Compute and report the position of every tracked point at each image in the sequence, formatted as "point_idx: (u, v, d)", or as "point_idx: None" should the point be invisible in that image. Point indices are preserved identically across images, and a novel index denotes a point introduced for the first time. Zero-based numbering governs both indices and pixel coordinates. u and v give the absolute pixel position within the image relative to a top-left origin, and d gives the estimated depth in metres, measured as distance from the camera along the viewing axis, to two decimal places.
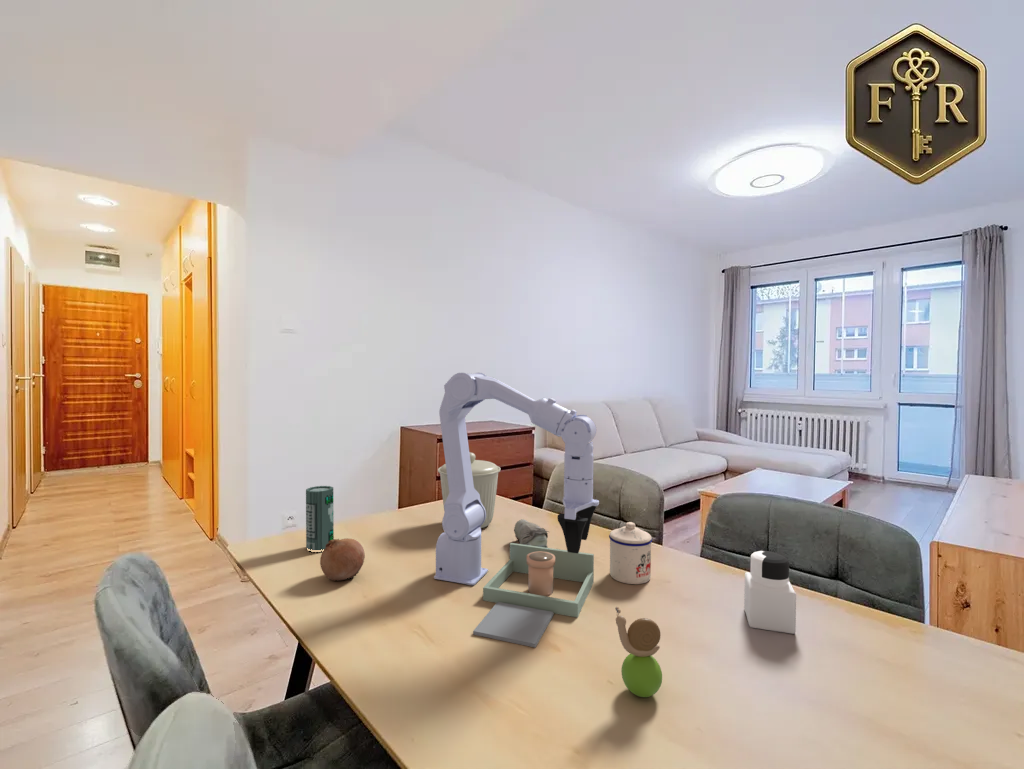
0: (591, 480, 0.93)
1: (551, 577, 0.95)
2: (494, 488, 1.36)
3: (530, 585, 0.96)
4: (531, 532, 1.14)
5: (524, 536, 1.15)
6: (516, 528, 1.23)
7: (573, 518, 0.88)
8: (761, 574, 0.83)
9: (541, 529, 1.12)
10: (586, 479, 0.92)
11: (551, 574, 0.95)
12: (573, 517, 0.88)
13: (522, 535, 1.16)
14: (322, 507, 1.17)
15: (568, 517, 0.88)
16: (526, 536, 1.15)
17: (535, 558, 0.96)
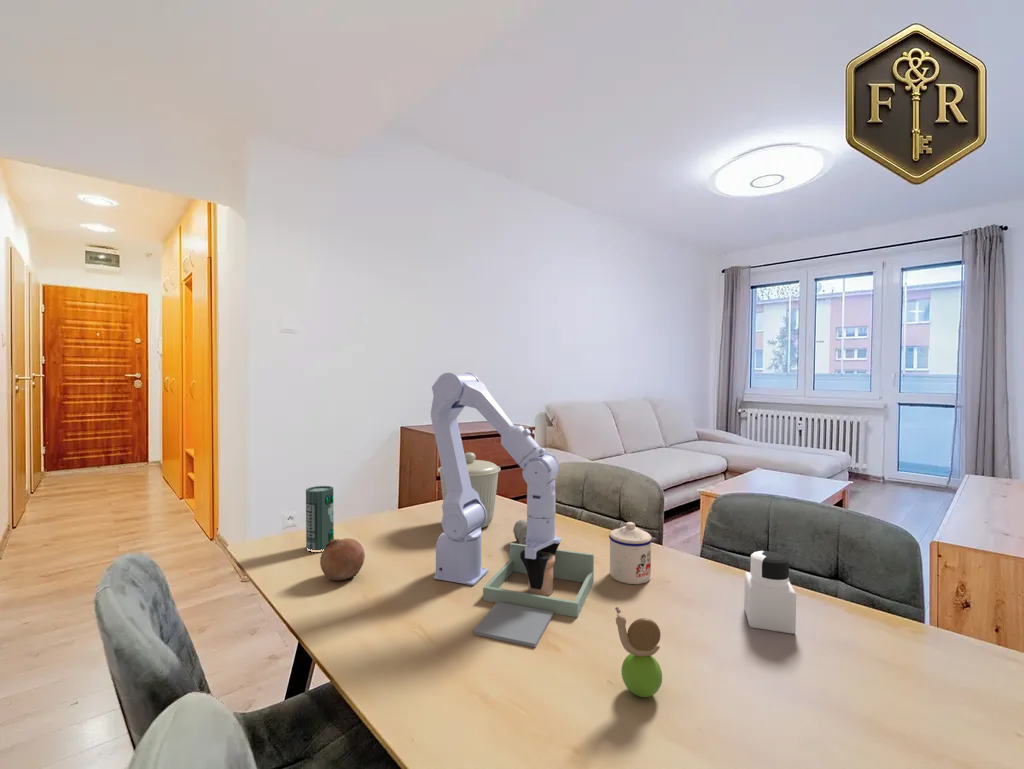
0: (553, 518, 0.95)
1: (551, 577, 0.95)
2: (494, 488, 1.36)
3: None
4: None
5: (524, 537, 1.15)
6: (515, 528, 1.22)
7: (533, 558, 0.90)
8: (761, 574, 0.83)
9: None
10: (547, 518, 0.94)
11: (551, 574, 0.95)
12: (533, 557, 0.90)
13: (522, 536, 1.16)
14: (322, 507, 1.17)
15: (528, 557, 0.90)
16: (525, 536, 1.14)
17: None
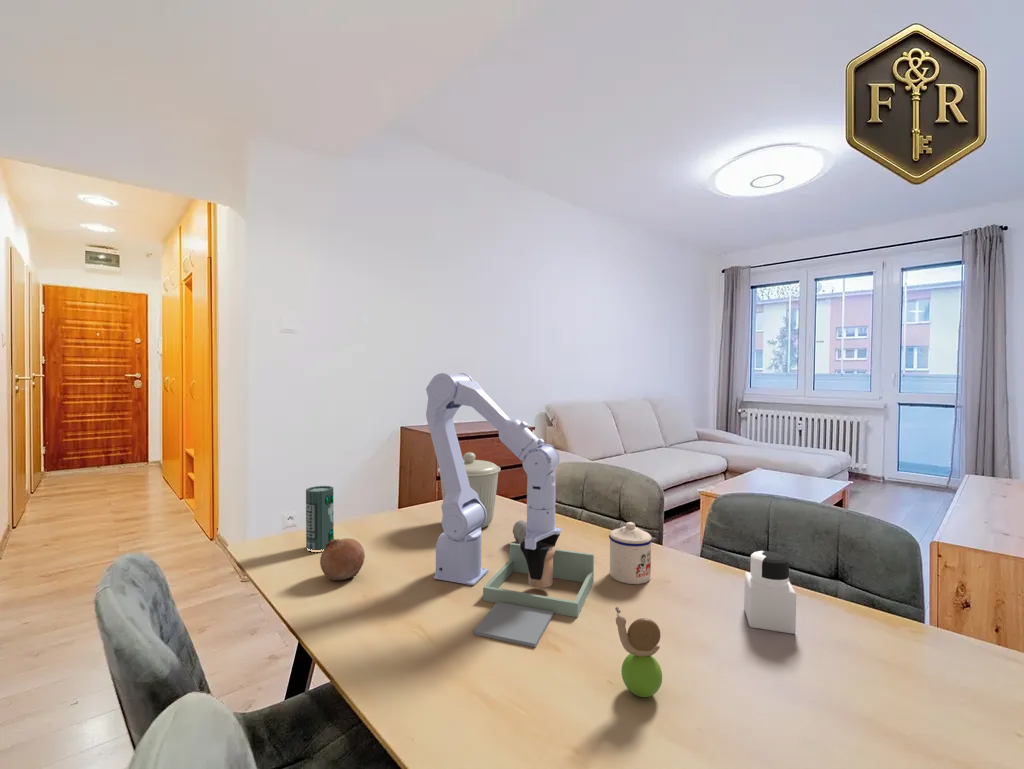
0: (553, 509, 0.95)
1: (551, 568, 0.95)
2: (494, 488, 1.36)
3: None
4: None
5: (524, 537, 1.15)
6: (515, 529, 1.22)
7: (533, 548, 0.90)
8: (761, 574, 0.83)
9: None
10: (547, 508, 0.94)
11: (551, 565, 0.95)
12: (533, 547, 0.90)
13: (522, 536, 1.16)
14: (322, 507, 1.17)
15: (528, 547, 0.90)
16: (525, 537, 1.14)
17: None
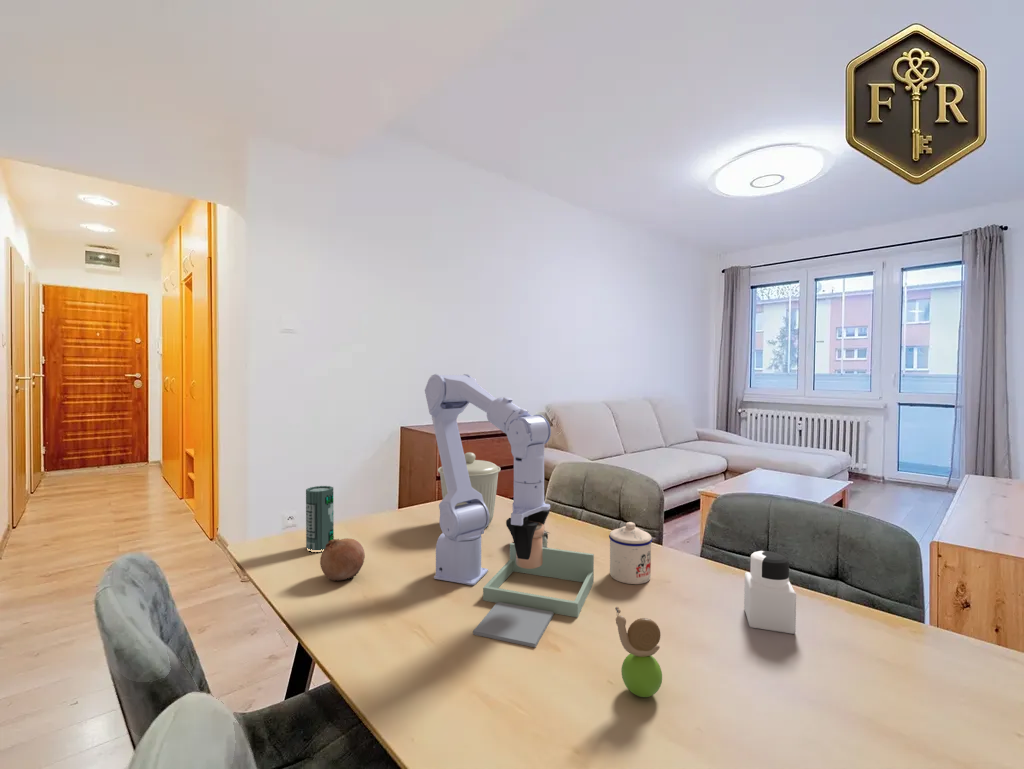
0: (541, 483, 0.88)
1: (540, 548, 0.88)
2: (494, 488, 1.36)
3: None
4: None
5: None
6: None
7: (520, 524, 0.82)
8: (761, 574, 0.83)
9: None
10: (535, 482, 0.87)
11: (540, 544, 0.88)
12: (520, 523, 0.82)
13: None
14: (322, 507, 1.17)
15: (514, 523, 0.83)
16: None
17: None
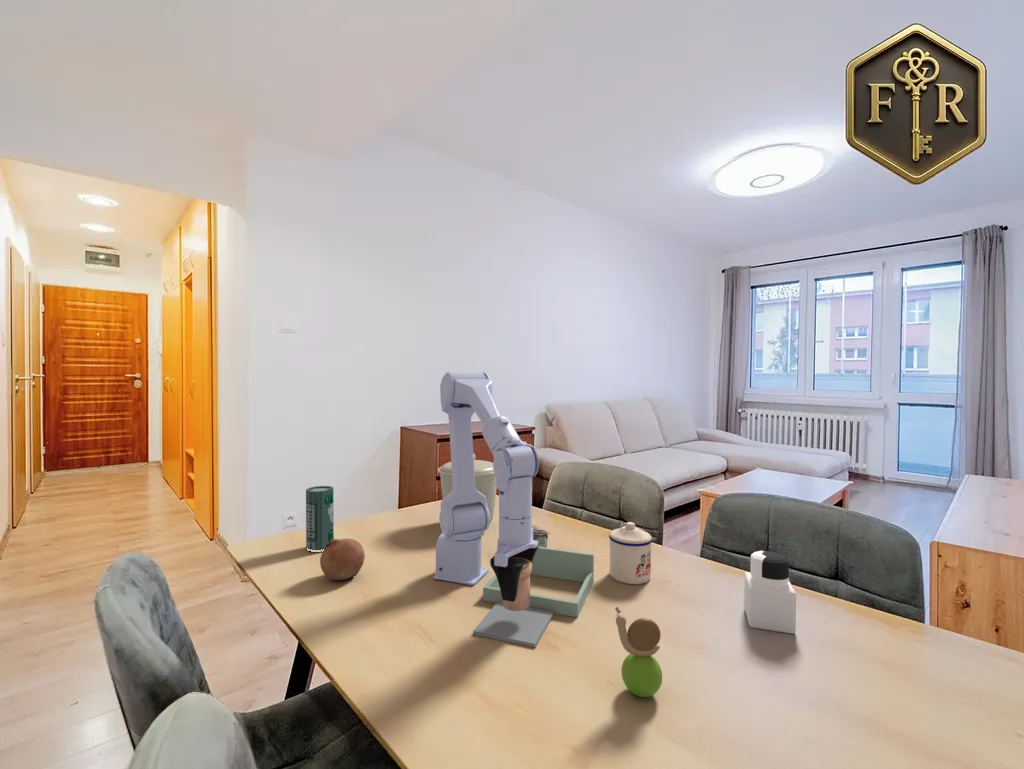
0: (528, 519, 0.82)
1: (527, 588, 0.82)
2: (494, 488, 1.36)
3: None
4: None
5: None
6: None
7: (504, 565, 0.77)
8: (761, 574, 0.83)
9: (542, 531, 1.11)
10: (522, 518, 0.81)
11: (527, 585, 0.82)
12: (504, 564, 0.77)
13: None
14: (322, 507, 1.17)
15: (498, 564, 0.77)
16: None
17: None
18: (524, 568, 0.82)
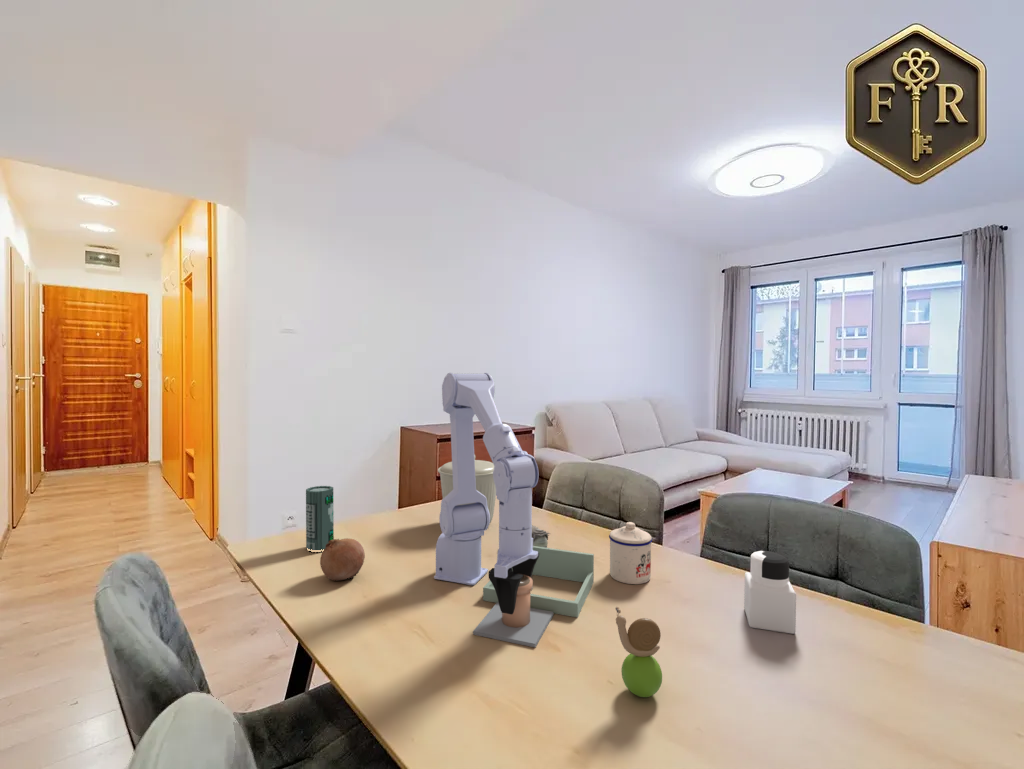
0: (528, 529, 0.82)
1: (528, 604, 0.83)
2: (494, 488, 1.36)
3: (503, 614, 0.83)
4: None
5: None
6: None
7: (504, 576, 0.77)
8: (761, 574, 0.83)
9: (542, 531, 1.11)
10: (522, 529, 0.81)
11: (528, 601, 0.83)
12: (504, 575, 0.77)
13: None
14: (322, 507, 1.17)
15: (498, 575, 0.77)
16: None
17: None
18: (525, 584, 0.83)
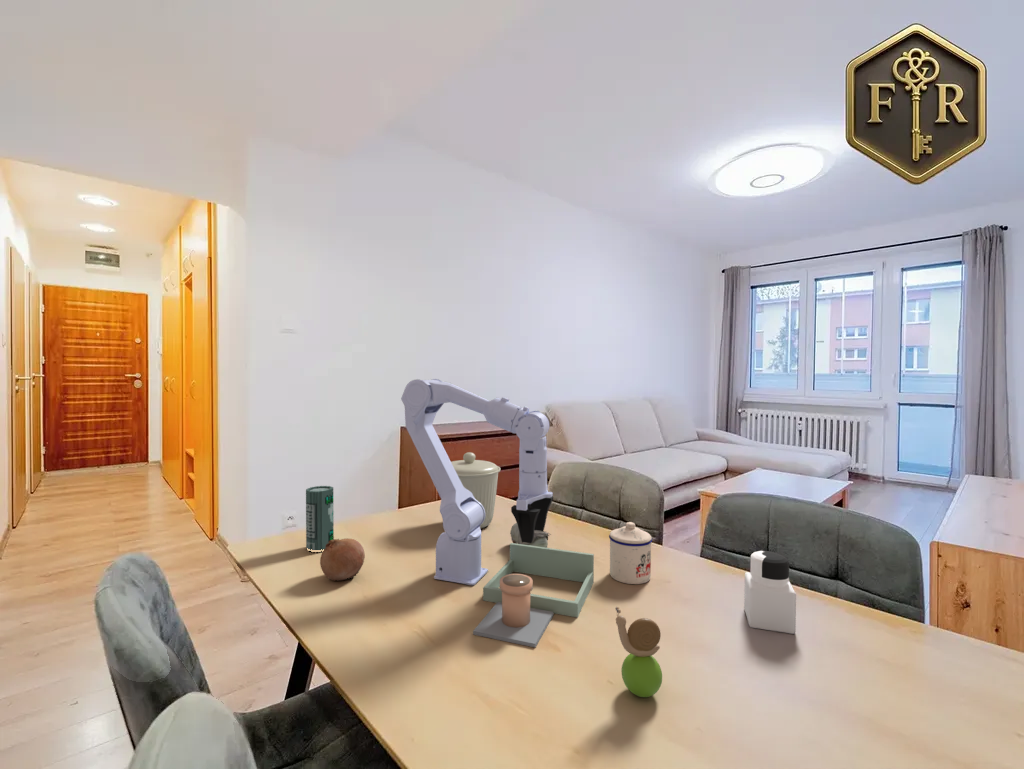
0: (544, 473, 0.97)
1: (528, 604, 0.83)
2: (494, 488, 1.36)
3: (503, 614, 0.83)
4: None
5: None
6: (513, 531, 1.20)
7: (524, 509, 0.92)
8: (761, 574, 0.83)
9: (542, 532, 1.10)
10: (539, 472, 0.96)
11: (528, 601, 0.83)
12: (524, 508, 0.92)
13: None
14: (322, 507, 1.17)
15: (520, 508, 0.92)
16: None
17: (510, 583, 0.83)
18: (525, 584, 0.83)
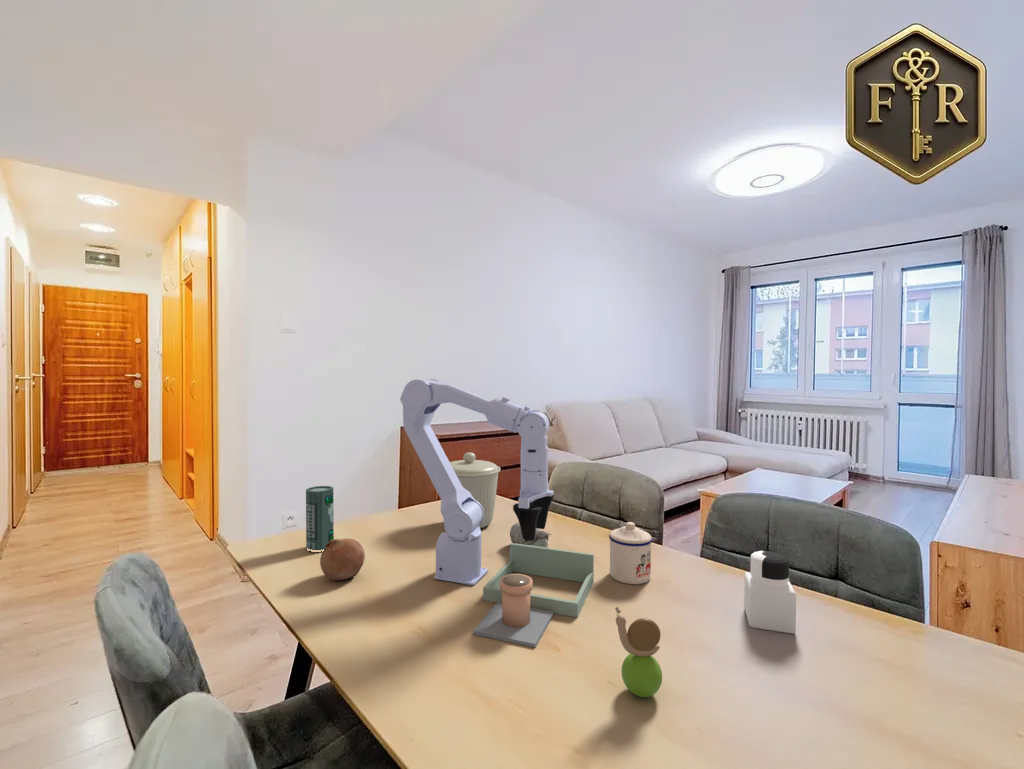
0: (545, 472, 0.98)
1: (528, 604, 0.83)
2: (494, 488, 1.36)
3: (503, 614, 0.83)
4: None
5: (524, 540, 1.13)
6: (513, 532, 1.20)
7: (526, 507, 0.93)
8: (761, 574, 0.83)
9: (542, 532, 1.10)
10: (540, 471, 0.97)
11: (528, 601, 0.83)
12: (526, 506, 0.93)
13: (521, 539, 1.14)
14: (322, 507, 1.17)
15: (522, 506, 0.93)
16: None
17: (510, 583, 0.83)
18: (525, 584, 0.83)
